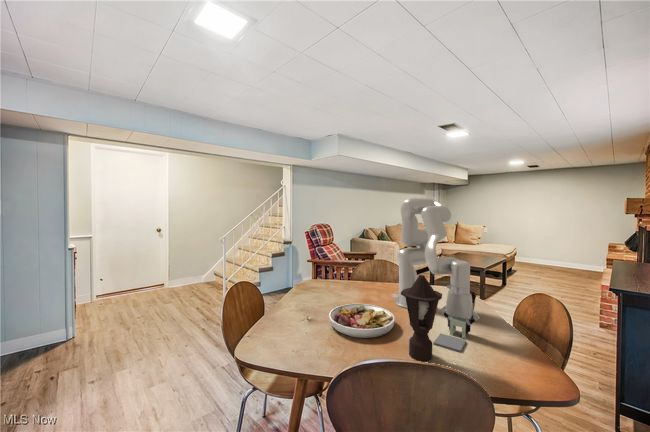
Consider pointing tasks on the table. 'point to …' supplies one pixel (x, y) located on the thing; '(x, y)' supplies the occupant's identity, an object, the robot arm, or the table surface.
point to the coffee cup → (473, 300)
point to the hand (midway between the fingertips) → (458, 330)
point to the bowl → (361, 320)
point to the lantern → (421, 317)
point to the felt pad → (450, 342)
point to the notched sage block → (458, 322)
